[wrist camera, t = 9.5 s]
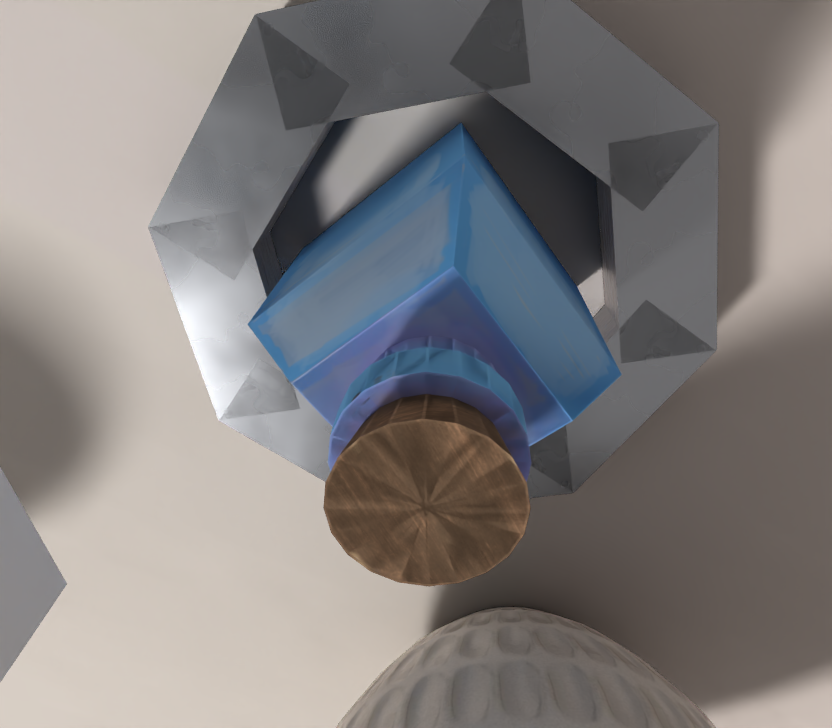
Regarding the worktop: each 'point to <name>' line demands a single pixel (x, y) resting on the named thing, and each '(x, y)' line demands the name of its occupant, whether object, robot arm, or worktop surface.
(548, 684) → the vase
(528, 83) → the ring
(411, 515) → the perfume bottle
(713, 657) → the worktop surface
